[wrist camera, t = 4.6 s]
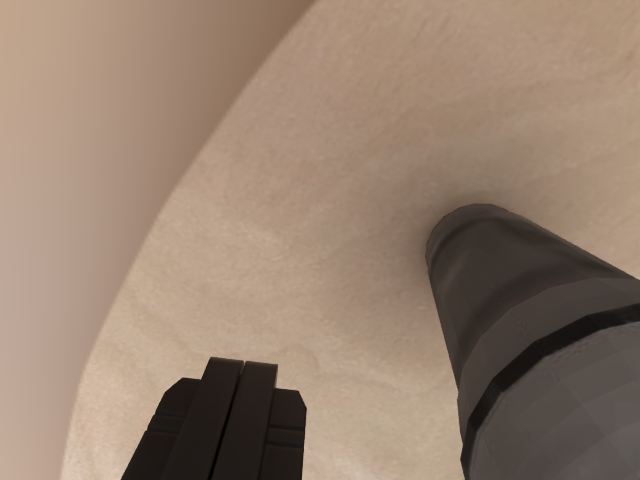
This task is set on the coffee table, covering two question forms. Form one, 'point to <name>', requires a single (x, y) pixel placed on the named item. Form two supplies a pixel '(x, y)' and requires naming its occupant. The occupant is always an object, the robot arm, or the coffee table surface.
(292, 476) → the robot arm
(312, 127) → the coffee table surface
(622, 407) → the beverage cup
